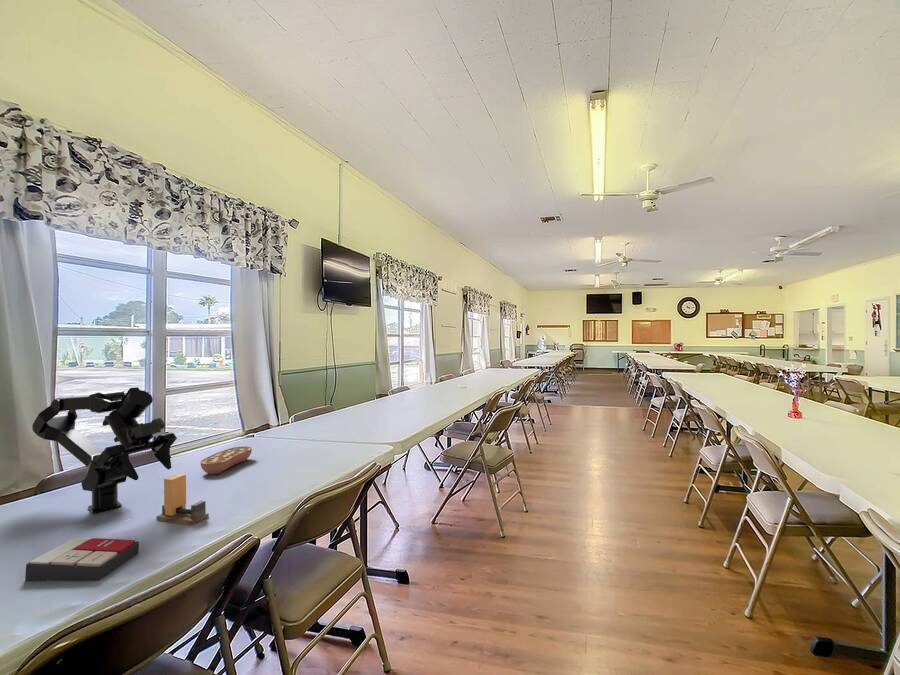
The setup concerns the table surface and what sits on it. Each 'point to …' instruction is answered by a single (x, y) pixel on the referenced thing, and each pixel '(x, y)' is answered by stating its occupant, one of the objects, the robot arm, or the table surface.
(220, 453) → the brown oval piece
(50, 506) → the table surface
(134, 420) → the robot arm
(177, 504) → the orange slab
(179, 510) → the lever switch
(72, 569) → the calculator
